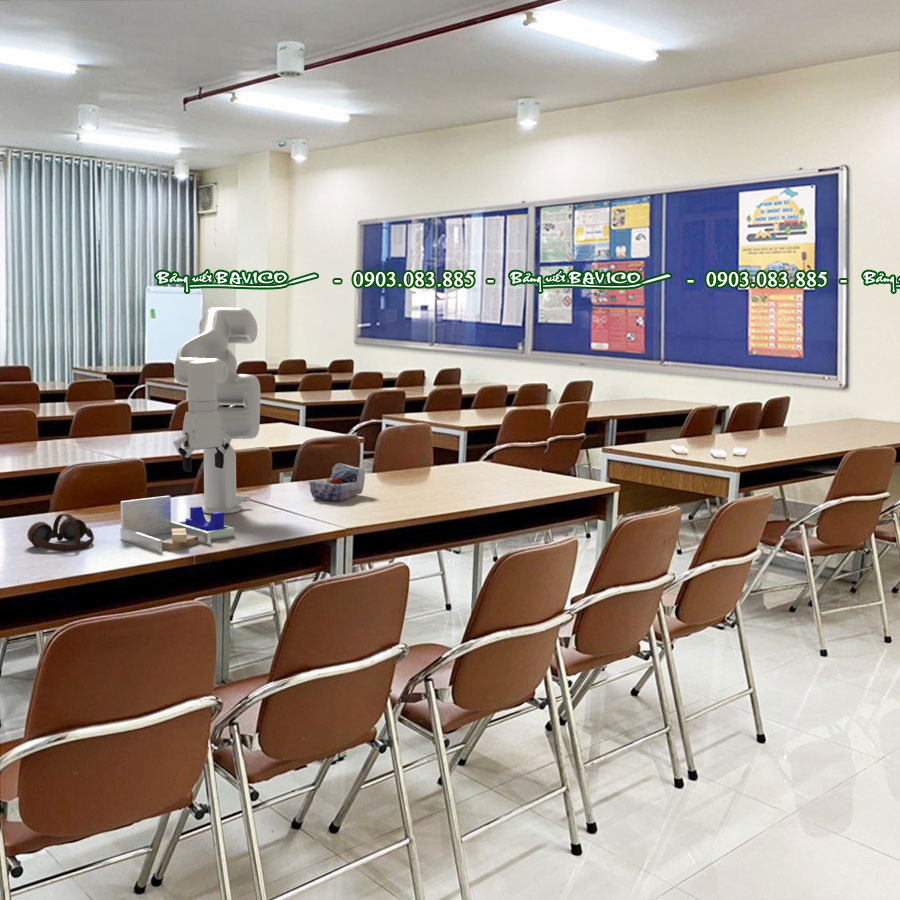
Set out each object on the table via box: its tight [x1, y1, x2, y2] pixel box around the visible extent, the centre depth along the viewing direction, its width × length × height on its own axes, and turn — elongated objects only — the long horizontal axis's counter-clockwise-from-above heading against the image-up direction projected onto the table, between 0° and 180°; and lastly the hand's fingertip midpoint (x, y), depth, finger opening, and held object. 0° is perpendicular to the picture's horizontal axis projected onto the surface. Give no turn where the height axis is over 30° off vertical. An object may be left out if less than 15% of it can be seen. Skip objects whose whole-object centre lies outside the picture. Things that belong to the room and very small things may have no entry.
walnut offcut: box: [162, 535, 199, 552], centre depth 264 cm, size 10×4×2 cm, turn 157°
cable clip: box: [185, 505, 225, 531], centre depth 279 cm, size 12×4×6 cm, turn 46°
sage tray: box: [176, 519, 235, 542], centre depth 278 cm, size 9×17×2 cm, turn 45°
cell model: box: [308, 462, 366, 503], centre depth 337 cm, size 13×11×20 cm
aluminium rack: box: [120, 495, 212, 553], centre depth 268 cm, size 15×21×10 cm
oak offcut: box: [171, 528, 187, 543], centre depth 263 cm, size 8×4×2 cm, turn 17°
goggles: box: [26, 513, 95, 552], centre depth 261 cm, size 15×13×10 cm
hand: (203, 469), depth 277 cm, fingers open, 9 cm apart
